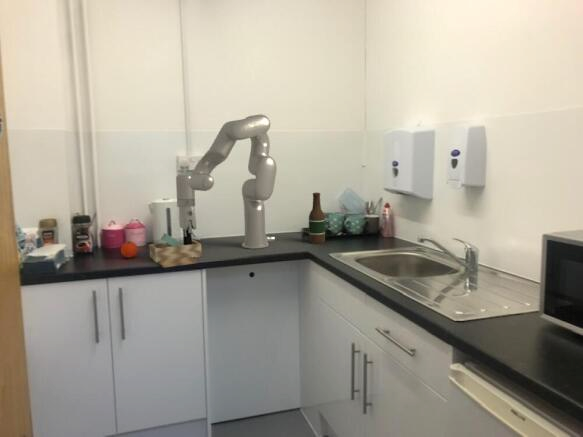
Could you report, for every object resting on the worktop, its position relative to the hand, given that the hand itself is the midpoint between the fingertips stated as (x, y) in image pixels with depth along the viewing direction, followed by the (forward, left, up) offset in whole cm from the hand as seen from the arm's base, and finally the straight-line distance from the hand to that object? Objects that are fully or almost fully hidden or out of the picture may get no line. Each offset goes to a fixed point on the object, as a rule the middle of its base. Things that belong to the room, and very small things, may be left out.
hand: (187, 245), depth 202 cm
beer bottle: (-61, +7, -5) cm, 62 cm away
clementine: (+23, -10, -5) cm, 25 cm away
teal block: (+6, 0, 0) cm, 6 cm away
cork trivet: (+8, +11, -5) cm, 14 cm away
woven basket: (+5, 0, -4) cm, 7 cm away
